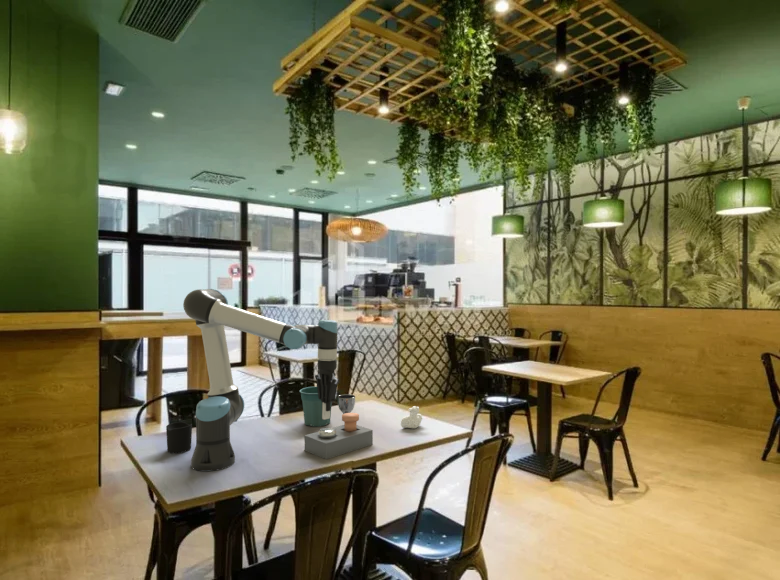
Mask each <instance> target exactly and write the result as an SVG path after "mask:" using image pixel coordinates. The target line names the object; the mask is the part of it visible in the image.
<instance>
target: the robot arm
mask: <svg viewBox="0 0 780 580" xmlns="http://www.w3.org/2000/svg"><path fill="white" fill-rule="evenodd" d="M183 311H184V313H185V314H186V316H188V317H189V318H190V319H192V320H194V321H195V326H196V327H198V328H199V329H200V331H201V336H202V343H203V349H204V356H205V360H206V361H205V362H206V367H207V374H208V379H209V385H210V390H209V391H208V392H207V398H203V399H202V400H199V401H198V403H197V404H196V410H195V426H196V427H195V433H196V434H195V435H196V436H195V437H196V438H195V439H196V441H195V443H196V444H195V448H194V450H193V454H192V457H191V460H190V463H191V464H190V468H191V469H193V468H194V469H193V470H195V469H197V470H196V471H199V470H213V471H218V470H217V469H219V470H223V469H226V468H228V466H229V467H230V465H231V466H232V465H234V464H235V463H236V455H235V451H234V449H233V446H232V443H231V425H232V424H233V423H235V422H236V421H237V420H239V419H240V417H241V416H242V414H243V412H244V410H245V400H244V398H243V396H242V395H241V394H240V392H239V387H238V386H237V385H235V384H234V379H233V375H232V367H231V363H230V362H231V360H230V355H229V354H230V353H229V348H228V344H227V337H226V331H225V327H228V328H230V329H235V330H237V331H241V332H244V333H248V334H249V335H250V334H251V335H252V336H256V337H260V338H263V339H266V340H268V341H269V340H270V341H272V342H275V343H277V344H282V345H284V346H286V347H287V348H288V349H290V350H298V349H300V348H303V347H304V345H317V359H318V360H317V370H319V371H318V374H315V375H314V378H315V381H316V386H317V390H318V398H319V400H321V402H322V419H324V420H325V419H329V418H330V410H331V411H332V405H331V402H332V403H333V402H335V400H336V395H337V389H338V384H339V383H340V379H339V378H337V377H336V372H335V370H337V368H338V367H337V364H338V360H337V358H338V354H337V353H338V334H339V333H338V322H337V321H336V320H334V319H321V320H319V321H318V323H317V324H287V323H285V322H282V321H279V320H275V319H273V318H269V317H267V316H263V315H259V314H257V313H254V312H251V311H248V310H245V309H242V308H238V307H234V306H232V305H230V304H229V301H228V298H227V296H226V295H225V294H224V293H223V292H221V291H220V290H217V289H213V288H206V289H203V288H202V289H195V290H192V291H191V292H189V293H188V294H187V295H186V296H185V298H184V300H183ZM330 419H331V418H330ZM225 467H226V468H225ZM222 468H223V469H222Z"/></svg>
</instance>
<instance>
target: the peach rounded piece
mask: <svg viewBox="0 0 780 580" xmlns="http://www.w3.org/2000/svg"><path fill="white" fill-rule="evenodd" d="M359 420H360V414H359V413H356V412H350V413H345V414H343V413H342V415H341V422H344V424H343V425H344V431H346V432H349V433H350V432H353V431H357V425H358V424H357V423H358V421H359Z"/></svg>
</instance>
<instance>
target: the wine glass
mask: <svg viewBox="0 0 780 580" xmlns="http://www.w3.org/2000/svg"><path fill="white" fill-rule="evenodd" d="M355 404H356V396H355V394H349V393H348V394H346V393H345V394H339V395H337V406H338V408H339V410H340V412H341V413H342V414H345V413H352V411H353V410H354V408H355Z"/></svg>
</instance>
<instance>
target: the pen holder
mask: <svg viewBox="0 0 780 580" xmlns="http://www.w3.org/2000/svg"><path fill="white" fill-rule="evenodd" d="M165 428H166V431H165V432H166V448H167V452H168V453H169V452H170V454H180V453H181V452H182V453H185V452H188V451H190V450H191V448H192V435H193V431H192V429H193V423H187V422H185V421H175V422H172V423H168V424H166V427H165Z"/></svg>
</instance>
